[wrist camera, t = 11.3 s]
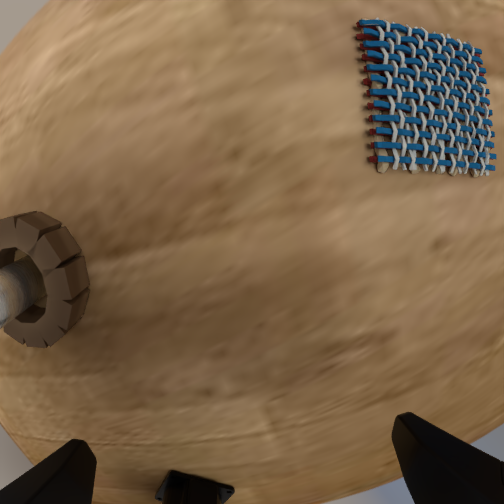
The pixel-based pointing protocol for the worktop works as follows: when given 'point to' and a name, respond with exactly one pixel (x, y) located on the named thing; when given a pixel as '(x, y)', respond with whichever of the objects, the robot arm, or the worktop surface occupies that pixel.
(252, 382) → the worktop surface
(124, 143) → the worktop surface
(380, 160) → the woven mat
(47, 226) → the walnut gear
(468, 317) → the worktop surface
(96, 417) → the worktop surface
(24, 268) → the grey cylinder
